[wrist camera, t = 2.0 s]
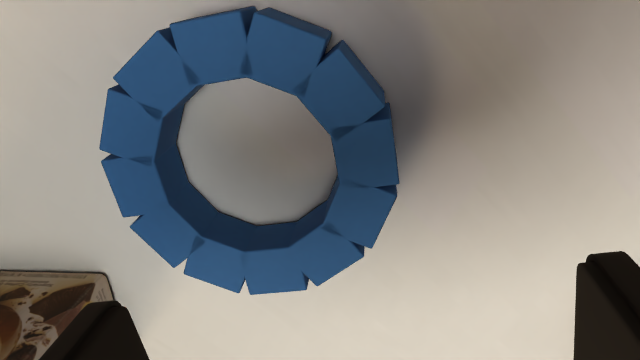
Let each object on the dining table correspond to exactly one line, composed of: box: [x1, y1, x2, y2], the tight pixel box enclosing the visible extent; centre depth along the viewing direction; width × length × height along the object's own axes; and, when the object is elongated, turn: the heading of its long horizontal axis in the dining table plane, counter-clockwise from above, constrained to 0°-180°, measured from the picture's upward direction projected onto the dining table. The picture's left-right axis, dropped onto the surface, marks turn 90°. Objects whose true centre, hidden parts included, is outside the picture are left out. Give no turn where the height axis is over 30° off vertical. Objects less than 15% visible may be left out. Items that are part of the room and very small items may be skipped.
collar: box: [100, 6, 399, 295], centre depth 20 cm, size 12×12×2 cm
